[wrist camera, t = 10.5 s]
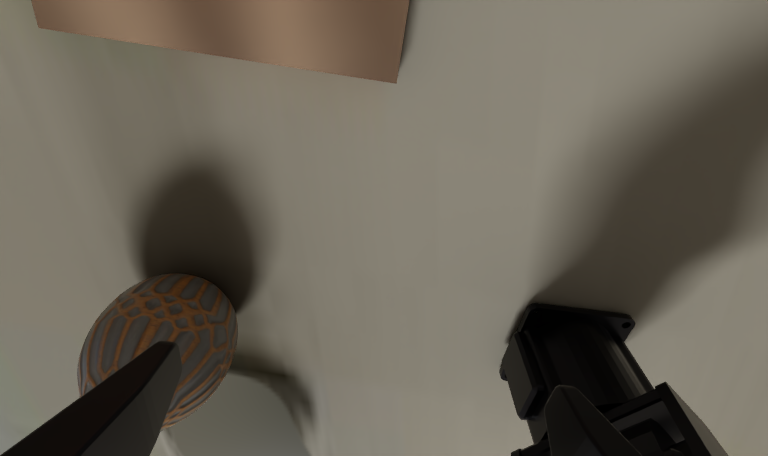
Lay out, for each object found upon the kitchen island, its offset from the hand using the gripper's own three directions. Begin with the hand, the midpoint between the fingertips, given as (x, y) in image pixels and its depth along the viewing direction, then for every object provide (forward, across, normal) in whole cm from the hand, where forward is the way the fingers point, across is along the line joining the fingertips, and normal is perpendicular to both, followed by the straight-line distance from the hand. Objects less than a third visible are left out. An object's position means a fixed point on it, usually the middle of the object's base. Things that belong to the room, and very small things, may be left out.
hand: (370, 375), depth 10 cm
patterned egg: (+12, +10, +10) cm, 19 cm away
